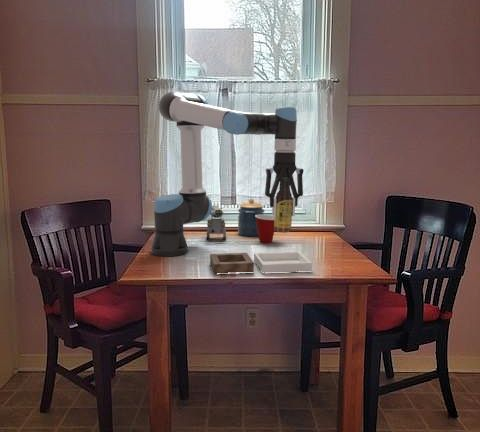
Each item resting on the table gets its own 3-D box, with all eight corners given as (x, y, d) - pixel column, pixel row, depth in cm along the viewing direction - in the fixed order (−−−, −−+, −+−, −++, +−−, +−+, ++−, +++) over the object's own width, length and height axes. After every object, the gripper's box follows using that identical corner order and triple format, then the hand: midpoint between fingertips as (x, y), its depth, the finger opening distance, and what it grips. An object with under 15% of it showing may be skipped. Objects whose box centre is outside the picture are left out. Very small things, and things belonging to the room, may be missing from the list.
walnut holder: (214, 275, 159) (214, 264, 158) (210, 264, 173) (210, 253, 172) (253, 273, 161) (253, 262, 161) (246, 262, 175) (246, 252, 174)
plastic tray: (262, 274, 161) (262, 264, 160) (253, 261, 176) (254, 253, 176) (311, 272, 164) (312, 262, 163) (298, 260, 179) (299, 251, 179)
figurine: (226, 236, 220) (226, 205, 217) (225, 241, 209) (225, 209, 206) (207, 235, 220) (207, 205, 218) (205, 241, 209) (205, 208, 206)
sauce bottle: (279, 233, 163) (280, 178, 160) (271, 230, 169) (271, 176, 165) (295, 232, 166) (296, 177, 162) (286, 229, 172) (287, 176, 168)
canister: (256, 238, 216) (257, 201, 213) (232, 234, 223) (233, 199, 219) (268, 233, 228) (269, 197, 224) (245, 230, 234) (246, 195, 231)
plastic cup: (279, 244, 204) (280, 218, 202) (255, 244, 204) (256, 218, 201) (276, 238, 215) (276, 213, 213) (253, 239, 214) (253, 213, 212)
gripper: (260, 152, 157) (259, 218, 161) (314, 152, 160) (311, 216, 164) (256, 151, 164) (255, 214, 169) (307, 151, 168) (305, 213, 172)
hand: (283, 215), depth 166 cm, fingers closed on sauce bottle, 6 cm apart
